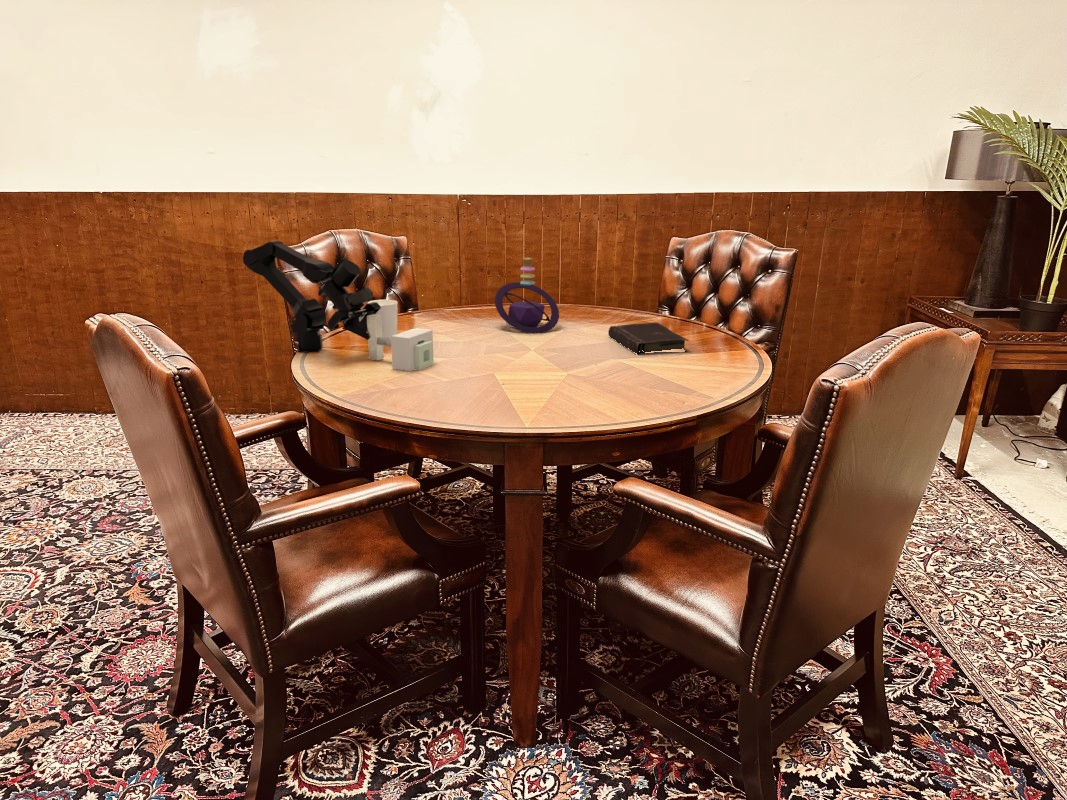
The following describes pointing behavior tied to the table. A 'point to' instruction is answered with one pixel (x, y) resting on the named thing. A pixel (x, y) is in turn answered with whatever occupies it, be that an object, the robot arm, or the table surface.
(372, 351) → the grey piece
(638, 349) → the diary
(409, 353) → the block
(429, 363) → the spacer
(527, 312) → the decorative bottle
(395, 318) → the candle holder
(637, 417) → the table surface
